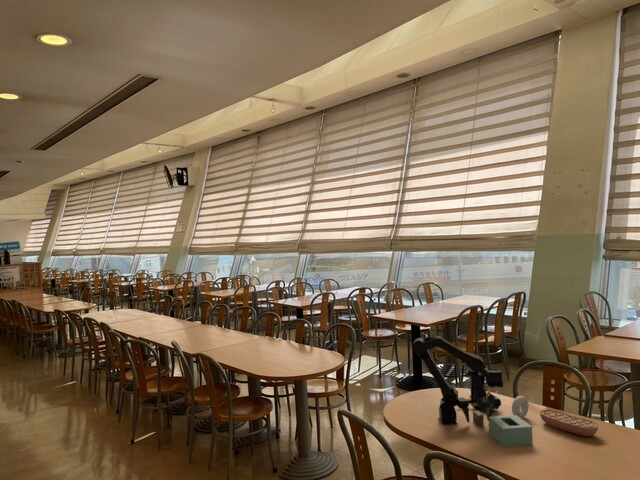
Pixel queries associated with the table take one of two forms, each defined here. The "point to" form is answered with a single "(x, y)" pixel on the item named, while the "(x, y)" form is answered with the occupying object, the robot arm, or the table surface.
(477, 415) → the rectangular block
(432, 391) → the table surface
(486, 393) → the fried shrimp in bowl
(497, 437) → the box
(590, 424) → the pink mitochondrion model
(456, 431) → the table surface
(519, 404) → the donut
